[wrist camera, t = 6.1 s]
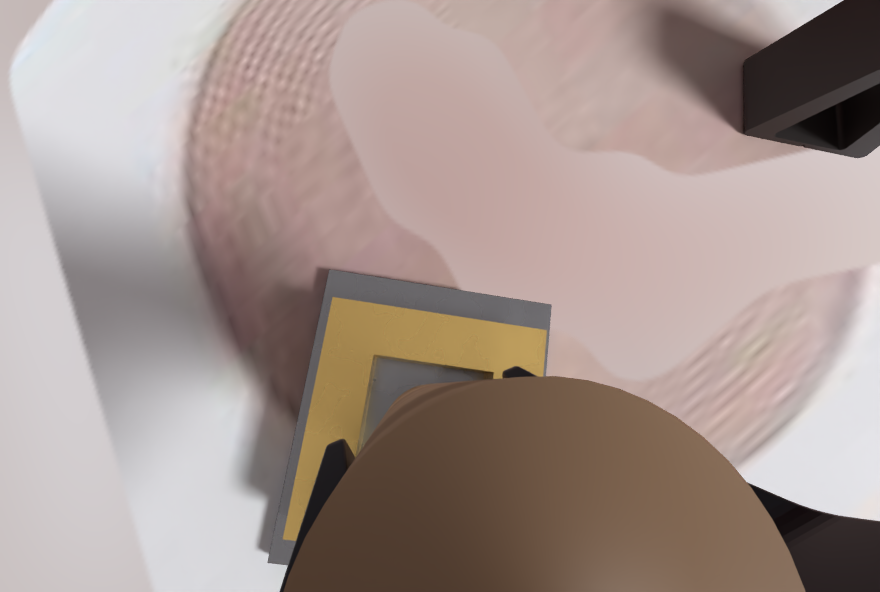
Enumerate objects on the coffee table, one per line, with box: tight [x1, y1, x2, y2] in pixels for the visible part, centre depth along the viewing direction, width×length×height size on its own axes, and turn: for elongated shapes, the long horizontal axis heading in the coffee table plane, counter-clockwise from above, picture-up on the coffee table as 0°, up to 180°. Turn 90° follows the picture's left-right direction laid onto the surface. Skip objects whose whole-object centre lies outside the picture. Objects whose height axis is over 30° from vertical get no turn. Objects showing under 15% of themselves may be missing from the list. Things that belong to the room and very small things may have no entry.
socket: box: [268, 269, 551, 565], centre depth 21 cm, size 15×13×3 cm
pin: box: [284, 376, 805, 592], centre depth 10 cm, size 4×4×14 cm
